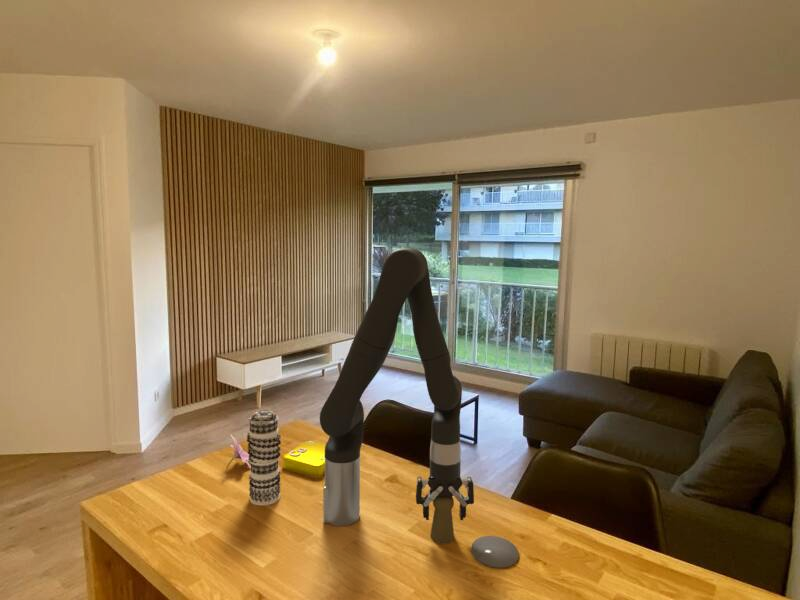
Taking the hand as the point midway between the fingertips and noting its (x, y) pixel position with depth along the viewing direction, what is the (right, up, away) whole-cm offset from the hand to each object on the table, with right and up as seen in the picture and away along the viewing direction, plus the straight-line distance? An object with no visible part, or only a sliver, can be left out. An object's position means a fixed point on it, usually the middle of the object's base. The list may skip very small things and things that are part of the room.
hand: (444, 518), depth 119 cm
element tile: (-40, 0, +38) cm, 55 cm away
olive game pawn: (0, -5, +1) cm, 5 cm away
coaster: (+12, -6, -5) cm, 14 cm away
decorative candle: (-50, -2, +17) cm, 53 cm away
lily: (-63, 0, +35) cm, 72 cm away
